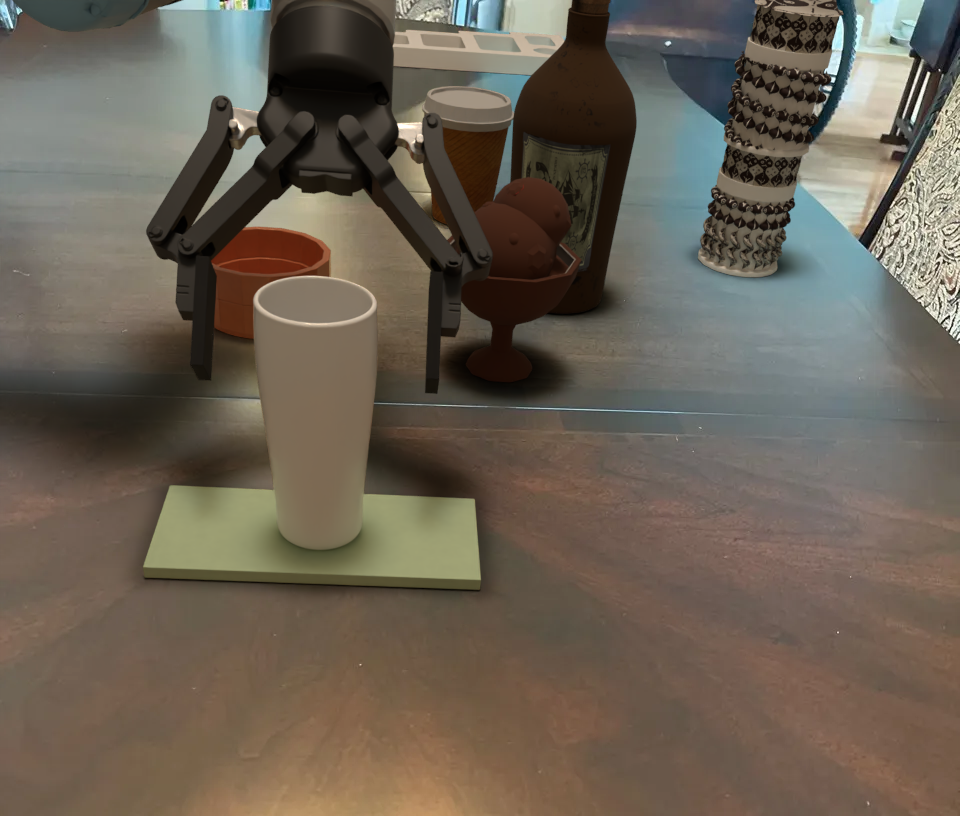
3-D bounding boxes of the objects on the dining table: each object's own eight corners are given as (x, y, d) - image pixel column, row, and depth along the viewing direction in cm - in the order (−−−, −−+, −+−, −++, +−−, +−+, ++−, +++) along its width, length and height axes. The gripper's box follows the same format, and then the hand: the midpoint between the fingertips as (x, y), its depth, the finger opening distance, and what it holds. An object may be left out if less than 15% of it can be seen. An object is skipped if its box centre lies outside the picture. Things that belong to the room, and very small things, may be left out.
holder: (293, 59, 163) (293, 39, 161) (296, 34, 177) (295, 16, 175) (577, 78, 169) (579, 59, 167) (558, 52, 183) (560, 35, 181)
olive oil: (509, 266, 105) (539, -27, 89) (614, 283, 104) (663, -11, 87) (486, 306, 97) (514, -8, 81) (599, 325, 95) (650, 10, 79)
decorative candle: (684, 266, 109) (743, -14, 93) (703, 239, 115) (761, -26, 99) (772, 285, 107) (848, 2, 90) (786, 257, 113) (859, -12, 97)
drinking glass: (345, 573, 63) (345, 336, 53) (244, 543, 64) (227, 307, 55) (391, 516, 68) (398, 290, 58) (297, 490, 69) (289, 265, 60)
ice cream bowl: (481, 327, 93) (496, 148, 83) (588, 368, 89) (617, 183, 79) (406, 366, 86) (414, 175, 77) (519, 411, 82) (542, 215, 72)
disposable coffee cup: (488, 239, 110) (499, 115, 102) (404, 222, 112) (408, 99, 104) (515, 212, 117) (527, 95, 109) (435, 197, 119) (441, 80, 111)
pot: (190, 337, 87) (183, 271, 83) (210, 284, 95) (205, 222, 92) (326, 344, 88) (325, 280, 84) (334, 291, 96) (333, 231, 93)
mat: (144, 577, 62) (142, 567, 62) (171, 495, 69) (169, 484, 69) (480, 590, 64) (481, 579, 63) (473, 508, 71) (474, 498, 70)
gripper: (106, -22, 59) (83, 344, 58) (544, 17, 61) (534, 371, 60) (138, 61, 67) (118, 387, 65) (527, 93, 69) (518, 410, 67)
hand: (317, 380), depth 62 cm, fingers open, 13 cm apart
